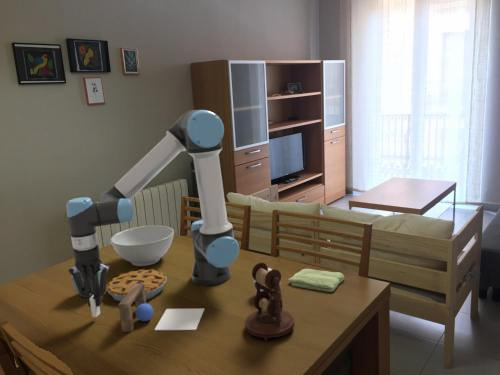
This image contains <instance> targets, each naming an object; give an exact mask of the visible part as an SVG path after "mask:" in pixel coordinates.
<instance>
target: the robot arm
mask: <svg viewBox="0 0 500 375" xmlns="http://www.w3.org/2000/svg"><path fill="white" fill-rule="evenodd" d="M165 134H166V135H165V136H164V137H163V138H162V139H161V140H160V141H159V142H158V143H156V145H155V146H154V147H152V149H151V150H150V151H149V152H147V153H146V154H145V155H144V156H143V157H142V158H141V159H140V160H139V161H138V162H137V163H135V165H134V166H133V167H131V169H129V170H128V171H127V172H126V173H125V174H124V175H123V176H122V177H121V178H120V179H119V180H118V181H117V182H116V183H115V184H114V185H112V187H110V189H109V190H106V191H104V192H103V193H102V194H100V197H99V199H98V202H93V201H92V198H90V197H86V196H84V197H82V196H81V197H76V198H72V199H70V200H68V201H67V202H66V203H65V206H66V214H67V222H68V225H69V226H68V228H69V233H70V238H71V245H72V248H73V250H72V251H73V252H72V253H73V256H74V261H75V263H74V265H73V266H71V268H69V269H68V273H69V274H70V275H71V276H73V278H74V281H75V283H76V286H77V288H78V290H79V293H80V294H79V293H78V294H79V295H80V297H82V296H85V297H84V298H86V299H87V305H88V307H90V309H91V316H92V318H97V317H98V316H100V315H101V308H100V306H101V305H102V298H101V297H102V296H103V295H104V294H105V293H106V291H107V281H108V280H107V278H108V272H109V270H110V268H111V267H110V265H109V264H108V265H105V264H103V262H102V260H101V254H100V248H99V245H98V244H99V241H98V235H97V229H96V227H103V226H109V225H111V226H112V225H117V224H124V223H127V222H131V221H133V220H134V209H133V208H134V207H133V202H132V199H133V198H134V197H135V196H136V195H138V193H139V192H141V190H142V189H144V188H145V187H146V185H148V184H149V182H151V181H152V180H153V179H154V178H155V177H156V176H157V175H158V174H159V173H160V172H161V171H162V170H163V169H164V168H166V167H167V166H168V165H169V164H170V163H171V162H172V161H173V160H174V159H175V158H176V157H177V156H178V155H179V154H180V153H181V152H186V151H187V153H188V155H189V156H191V157H192V158H193V165H194V171H195V172H194V173H195V180H196V184H197V186H196V187H197V193H198V198H199V206H200V213H201V219H200V220H199V219H198V220H195V221H194V222H192V223H191V226H190V227H191V230H190V232H191V238H192V247H193V257H194V258H193V259H194V260H193V265H192V271H191V280H192V282H193V283H195V284H196V285H197V284H198V285H201V286H213V285H218V284H221V283H225V282H226V281H228V280H229V279H230V278H231V275H232V274H231V268H230V266H231V265H232V264H233V263H234V262H236V260H237V259H238V257H239V254H240V245H239V243H238V241H237V239H235V236H234V235H235V234H234V227H233V224H232V223H231V222H230V221H229V220H228V216H227V208H226V200H225V193H224V192H225V191H224V184H223V177H222V170H221V162H220V153H221V151H223V142H222V140H223V138H224V134H225V127H224V123H223V121H222V119H221V118H220V116H218V115H217V114H216V113H214V112H212V111H211V110H209V109H208V110H207V109H192V110H188V111H186V112H185V113H183V114H182V115H181V116H180V117H179V118H178V119H177V120H176V121H175V122H174V123H173V124H172V126H170V127H169V128H168V130H167V131H166V133H165ZM99 268H100V269H101V270H100V272H101V275H100V286H99V280H98V270H99ZM79 271H80V272H81V274H82V277H81V275H80V272H79ZM83 281H84V282H83ZM91 283H92V284H91ZM92 289H93V291H92ZM92 294H93V296H92Z"/></svg>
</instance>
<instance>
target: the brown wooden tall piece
mask: <svg viewBox="0 0 500 375" xmlns="http://www.w3.org/2000/svg"><path fill="white" fill-rule="evenodd" d="M268 268H269V267H268V265H267V264H266V263H265V262H258V263H256V264H255V265H254V266H253V268H252V271H251V276H252V278H253V279H254V280H256V282H255V286H254V288H255V290H256V289H257V290H256V295H255V296H254V298H253V306H254V307H255V308H256V309H257V310H256V311H253V312H252V313H250V314H249V315H248V316H247V317H246V318H245V320H244V328H245V330H246V331H247V333H249V334H250V335H252V336H255V337H258V338H263V340H264V342H267V341H268V339H271V338H279V337H281V336H284V335H287V334H288V333H290V332H291V331H293V330H294V326H295V318H294V317H293V315H292V314H291V313H290V312H287V311H286V310H283V307H284V306H283V305H284V304H283V298H282V297H283V296H282V289H281V285H280V284H279V283H280V281H282V280H281V279H282V274H281V271H280V270H278V269H276V268H273V269H272V270H270V271H268ZM253 279H252V280H253ZM260 289H261V290H263V291H260ZM269 294H270V295H269Z"/></svg>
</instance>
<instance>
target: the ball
mask: <svg viewBox="0 0 500 375" xmlns="http://www.w3.org/2000/svg"><path fill="white" fill-rule="evenodd" d="M135 316H136V318H137V320H139V321H141V322H147V321H149V320H151V318H152V317H153V316H154V309H153V306H152V305H151V304H149V303H147V304H146V303H144V304H141V305H139V306H138V307H137V309H136V310H135Z"/></svg>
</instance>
